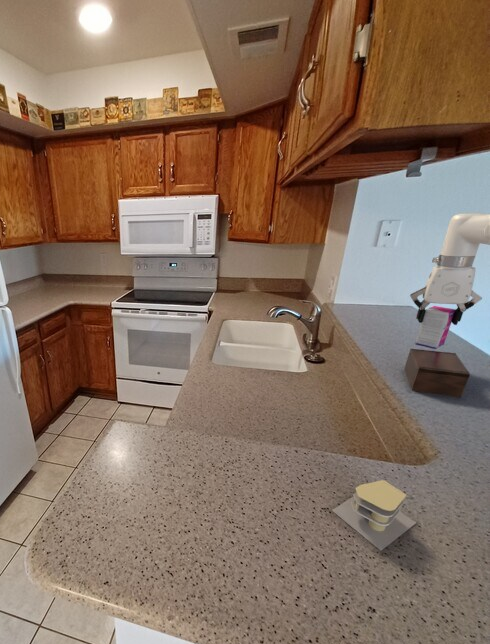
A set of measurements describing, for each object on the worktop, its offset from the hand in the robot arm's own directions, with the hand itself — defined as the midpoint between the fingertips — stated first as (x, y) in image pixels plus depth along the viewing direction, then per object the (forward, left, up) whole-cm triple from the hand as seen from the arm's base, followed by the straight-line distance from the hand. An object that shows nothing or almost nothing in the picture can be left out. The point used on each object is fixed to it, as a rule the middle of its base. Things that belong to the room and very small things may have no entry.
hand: (436, 322), depth 99 cm
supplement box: (0, 0, -8) cm, 8 cm away
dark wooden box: (0, +12, -15) cm, 19 cm away
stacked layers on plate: (+18, +70, -15) cm, 74 cm away
